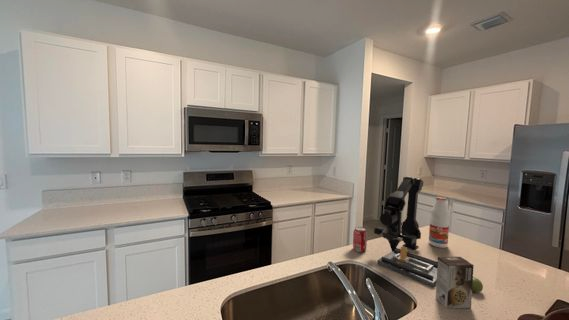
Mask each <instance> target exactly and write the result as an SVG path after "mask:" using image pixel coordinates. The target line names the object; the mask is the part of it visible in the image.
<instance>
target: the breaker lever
mask: <svg viewBox="0 0 569 320" xmlns="http://www.w3.org/2000/svg"><path fill="white" fill-rule="evenodd" d="M400 249H401V253H400V256H399V257H398V258H400V259H403V260H406V261H409V258H407V252H408V248H407V247H404V246H401V247H400Z"/></svg>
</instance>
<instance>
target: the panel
mask: <svg viewBox="0 0 569 320" xmlns="http://www.w3.org/2000/svg"><path fill="white" fill-rule="evenodd" d="M399 256H400V253H396V252H392V251H390V252H389V253H387V254H385V255H384V256H382V257H385V258H387V259H390V260H393V261H395V262H398V263H400V264H403V265H406V266H408V267H411V268H413V269H416V270H419V271H421V272H424V273H426V274H429V275H432V276H433V280H432V279H430V278H427V277H425V276H422V275H420V274H417V273H415V272H412V271H410V270H407V269H405V268H402V267H400V266H397V265H394V264H392V263H389V262H387V261H384V260H382V259H381V258H382V257H380V258H379V259H377V261H376V263H377V265H378V266H380V267H382V268H386V269H388V270H390V271H392V272H395V273H398V274H400V275H402V276H405V277H406V278H407V277H408V278H409V279H412V280H414V281H415V282H416V281H417V282H419V283H421V284H423V285H426V286H428V287H431V288H434V287H435V286H436V283H437V267H436V266H433V265H430V264H428V263H425V262H422V261H419V260H417V259H414V258H411V257H408V256H407V258H409V261H406V260H403V259H400V258H398V257H399Z"/></svg>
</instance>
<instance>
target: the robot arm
mask: <svg viewBox="0 0 569 320" xmlns="http://www.w3.org/2000/svg"><path fill="white" fill-rule="evenodd" d="M423 186H424V180H423V179H422V178H419V177H414V176H406V175H405V176H403V178H402V181H401V182H400V184H399V186H398V187H397V189H396V191H394V192H391V193H390V194H389V195H388V196H387V198H386V201H385V204H384V206H383V210H384V213H382V214H381V215H380V218H379V220H380V223H382V224H383V225H384V227H383V226H381V225H378V226H377V227H374V229H373V233H374V234H375V235H378V236H380V235H382V238H383V239H386V240H387V241H388V243H389V246H390V249H391V252H394V251H395V249H396V248H398V246H399V244H400V242H403V243H404V244H402V247H406V248H407V249H410V250H413V251H415V250H416V249H418V248H419V245H417V241H418V240H422V239H421V237H422V233H421V230H420V228H419V227H420V226H419V222H418V221H417V209H418V199H419V194H420V192H421V191H422V190H423ZM407 195H408V196H407ZM406 196H407V202H406V199H405V198H406ZM406 203H407V208H406V218H405V220H404V221H402V214H403V213H402V212H403V211H404V208H405V206H406Z"/></svg>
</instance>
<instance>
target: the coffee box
mask: <svg viewBox="0 0 569 320" xmlns="http://www.w3.org/2000/svg"><path fill="white" fill-rule="evenodd" d="M437 262H438V266H437V283H436V285H435V286H436V287H435V299H437V300H438V302H440V303H441V305H442V306H444V307H445V308H446V309H471V308H472V297H473V291H472V283H473V277H474V264H472V263H471V262H470V261H468V260H467V259H466V258H463V257H462V256H438V257H437Z"/></svg>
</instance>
